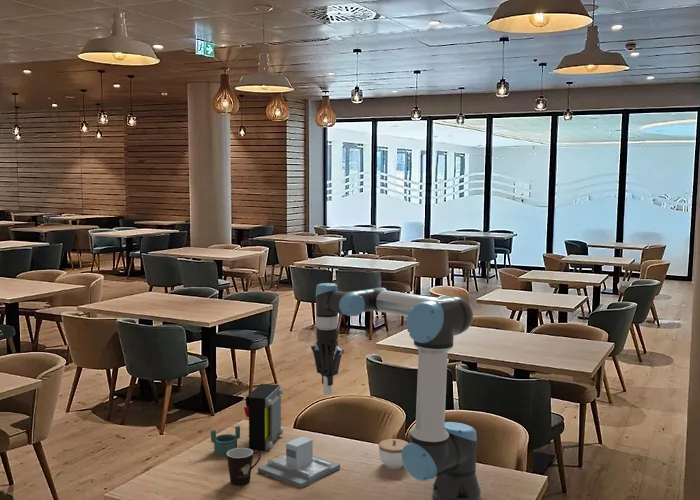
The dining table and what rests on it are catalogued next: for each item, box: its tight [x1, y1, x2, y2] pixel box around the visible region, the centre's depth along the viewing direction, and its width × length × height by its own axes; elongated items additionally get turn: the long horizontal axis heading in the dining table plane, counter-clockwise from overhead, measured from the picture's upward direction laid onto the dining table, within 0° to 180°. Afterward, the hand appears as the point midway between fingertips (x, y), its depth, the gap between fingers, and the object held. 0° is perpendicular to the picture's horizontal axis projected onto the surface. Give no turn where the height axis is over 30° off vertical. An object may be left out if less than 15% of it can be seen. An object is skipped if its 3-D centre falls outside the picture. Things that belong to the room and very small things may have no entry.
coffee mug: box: [226, 447, 262, 487], centre depth 229 cm, size 12×9×10 cm
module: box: [285, 436, 314, 469], centre depth 238 cm, size 5×8×8 cm, turn 142°
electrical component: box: [243, 383, 284, 452], centre depth 264 cm, size 18×10×20 cm, turn 168°
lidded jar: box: [378, 438, 409, 470], centre depth 243 cm, size 11×11×9 cm
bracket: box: [210, 425, 241, 457], centre depth 255 cm, size 9×9×9 cm
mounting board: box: [257, 455, 341, 489], centre depth 239 cm, size 20×20×2 cm
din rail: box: [267, 453, 331, 479], centre depth 239 cm, size 19×12×2 cm, turn 51°
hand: (327, 393), depth 243 cm, fingers closed
